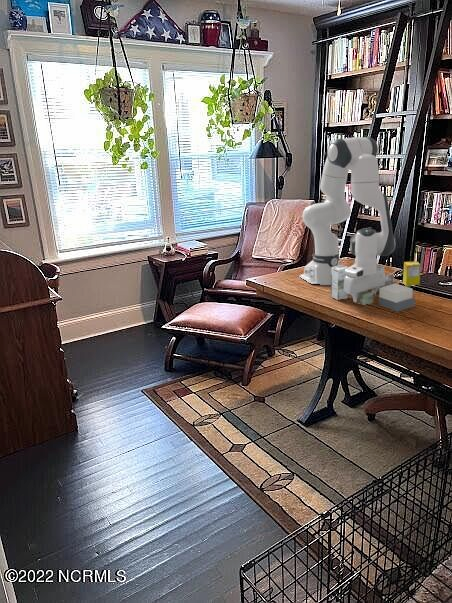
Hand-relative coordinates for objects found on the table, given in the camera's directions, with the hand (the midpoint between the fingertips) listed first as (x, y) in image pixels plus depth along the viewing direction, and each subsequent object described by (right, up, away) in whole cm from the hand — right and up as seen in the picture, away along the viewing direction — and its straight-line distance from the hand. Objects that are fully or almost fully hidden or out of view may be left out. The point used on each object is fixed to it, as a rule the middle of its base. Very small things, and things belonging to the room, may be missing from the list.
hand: (364, 299), depth 193 cm
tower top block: (+11, +1, -6) cm, 13 cm away
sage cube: (0, -2, +1) cm, 2 cm away
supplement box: (+27, +6, +17) cm, 32 cm away
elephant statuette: (+13, +4, +13) cm, 19 cm away
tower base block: (+12, -3, -5) cm, 13 cm away
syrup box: (-8, 0, +8) cm, 12 cm away
